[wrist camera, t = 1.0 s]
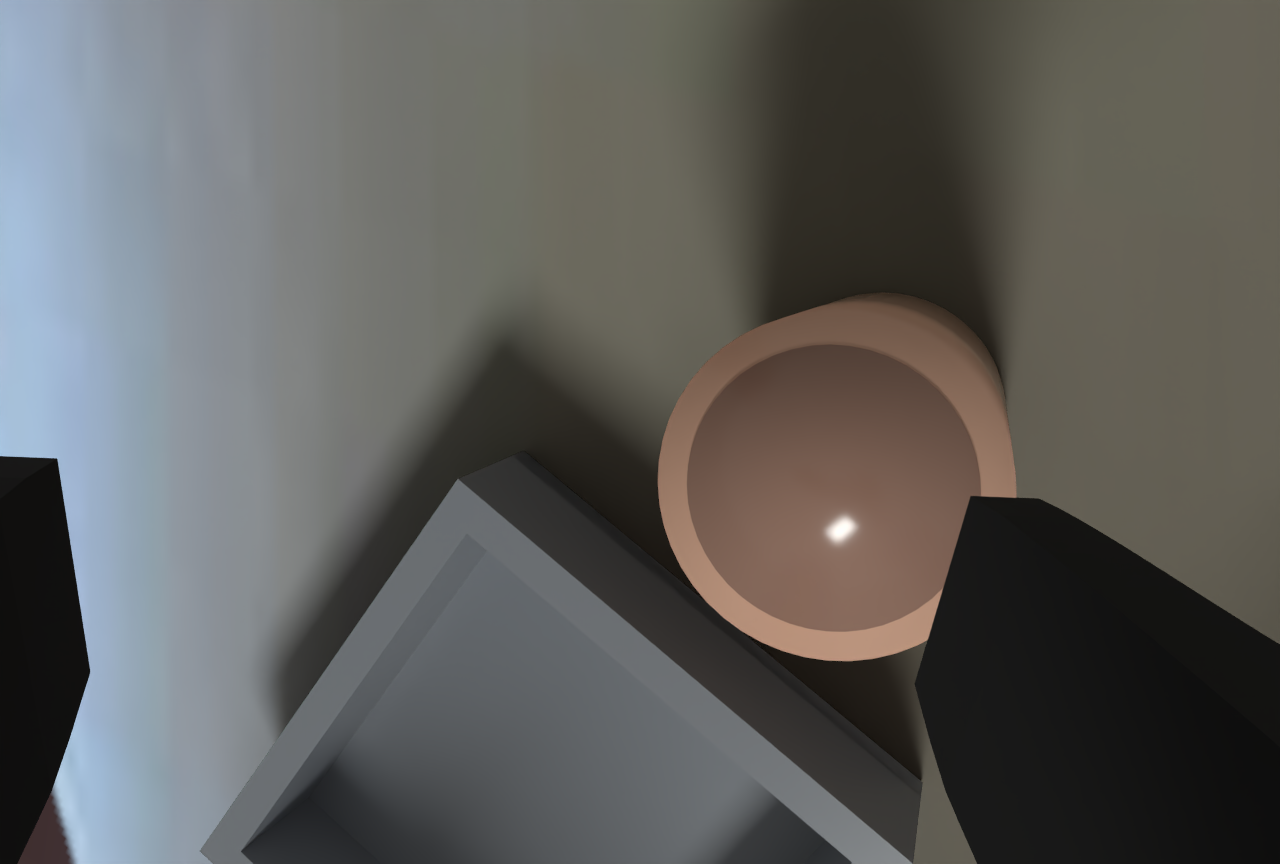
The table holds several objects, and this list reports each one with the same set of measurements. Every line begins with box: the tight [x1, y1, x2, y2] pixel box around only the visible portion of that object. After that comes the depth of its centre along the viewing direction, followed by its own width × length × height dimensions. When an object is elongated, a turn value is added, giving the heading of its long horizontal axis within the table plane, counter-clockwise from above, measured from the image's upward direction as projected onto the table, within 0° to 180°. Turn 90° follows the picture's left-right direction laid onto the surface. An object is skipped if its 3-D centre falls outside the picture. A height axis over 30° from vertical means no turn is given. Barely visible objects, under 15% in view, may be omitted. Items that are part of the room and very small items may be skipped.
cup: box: [658, 292, 1016, 661], centre depth 17 cm, size 4×4×7 cm
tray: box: [200, 451, 922, 864], centre depth 22 cm, size 10×10×3 cm
